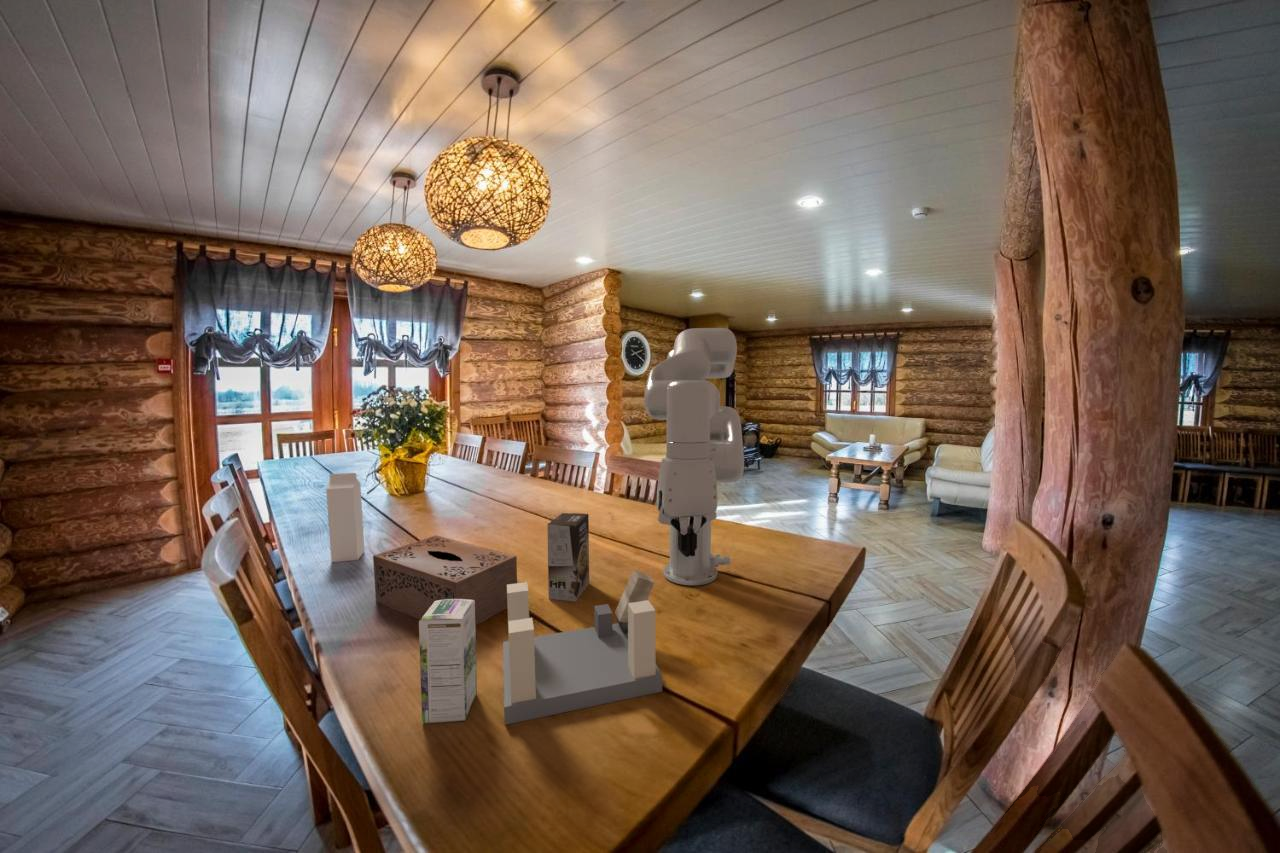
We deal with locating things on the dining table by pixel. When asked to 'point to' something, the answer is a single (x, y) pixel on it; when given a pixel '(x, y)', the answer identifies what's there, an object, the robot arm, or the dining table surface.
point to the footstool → (576, 661)
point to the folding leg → (633, 596)
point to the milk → (345, 517)
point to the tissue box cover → (443, 576)
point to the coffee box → (568, 556)
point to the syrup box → (448, 660)
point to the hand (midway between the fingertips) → (687, 553)
